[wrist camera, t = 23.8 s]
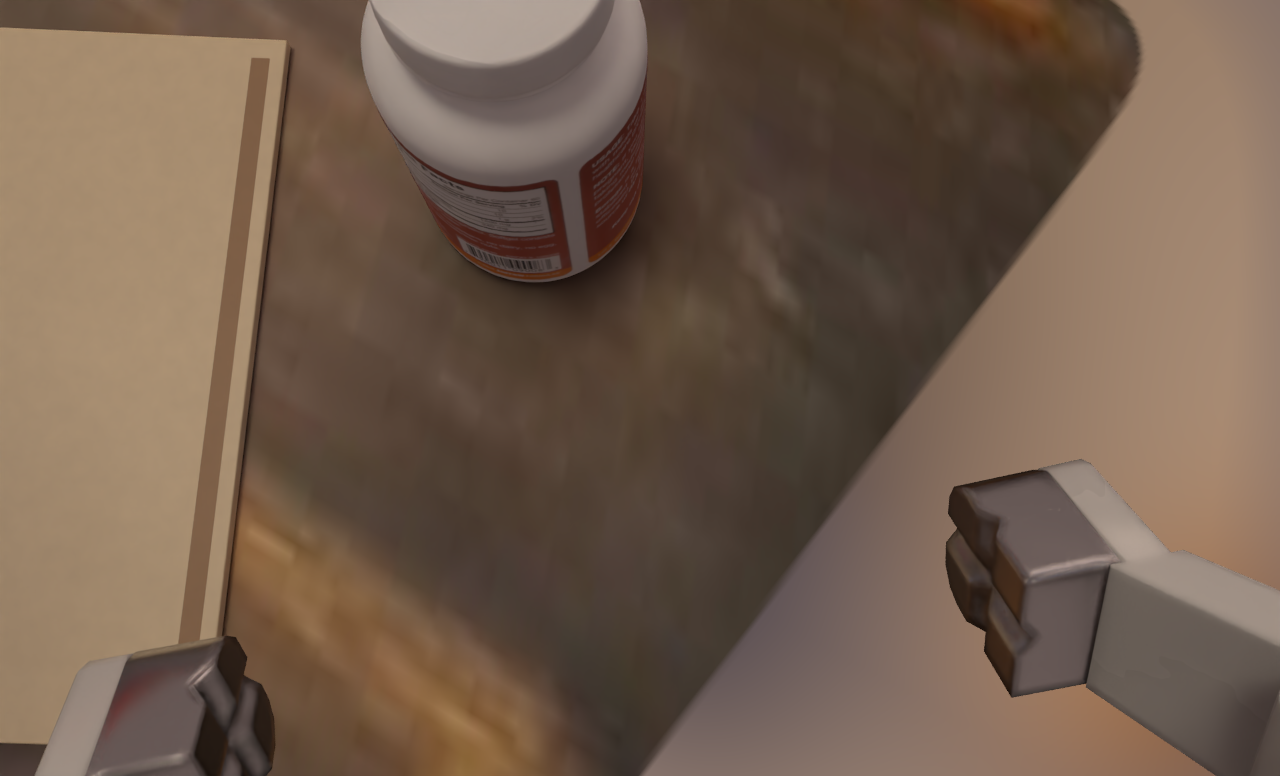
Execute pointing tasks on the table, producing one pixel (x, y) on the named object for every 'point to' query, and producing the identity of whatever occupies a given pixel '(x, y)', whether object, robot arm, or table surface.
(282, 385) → the table surface
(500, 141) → the pill bottle
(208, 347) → the cutting board
